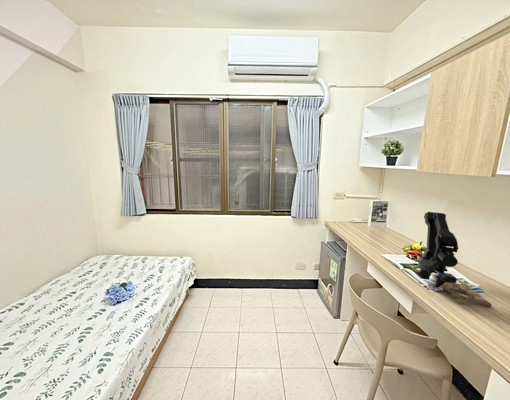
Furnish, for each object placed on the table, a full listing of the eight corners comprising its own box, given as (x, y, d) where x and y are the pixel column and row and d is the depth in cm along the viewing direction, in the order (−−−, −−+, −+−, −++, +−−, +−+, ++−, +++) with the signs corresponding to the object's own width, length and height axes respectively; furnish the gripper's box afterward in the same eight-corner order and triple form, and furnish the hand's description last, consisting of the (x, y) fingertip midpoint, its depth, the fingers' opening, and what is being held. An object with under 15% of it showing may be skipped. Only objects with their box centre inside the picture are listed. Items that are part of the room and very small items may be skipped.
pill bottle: (433, 286, 120) (436, 272, 118) (440, 291, 115) (444, 277, 114) (424, 285, 120) (428, 271, 118) (431, 291, 115) (435, 277, 113)
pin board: (436, 284, 122) (437, 280, 121) (463, 287, 120) (465, 284, 120) (458, 303, 106) (459, 299, 106) (490, 307, 105) (491, 303, 104)
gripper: (413, 248, 123) (407, 273, 127) (436, 265, 105) (428, 293, 109) (435, 250, 122) (428, 275, 126) (461, 267, 104) (452, 296, 108)
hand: (433, 284), depth 117 cm, fingers closed on pill bottle, 5 cm apart
